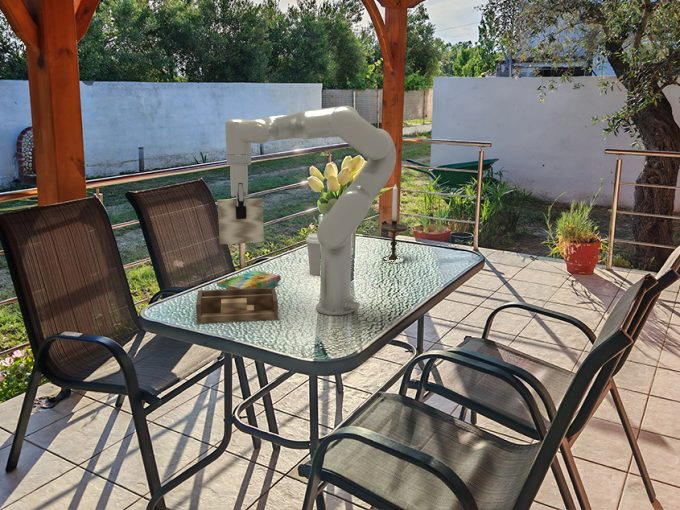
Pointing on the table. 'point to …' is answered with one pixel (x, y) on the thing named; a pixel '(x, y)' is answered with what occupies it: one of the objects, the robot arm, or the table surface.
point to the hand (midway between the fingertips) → (241, 217)
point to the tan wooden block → (236, 306)
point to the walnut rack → (259, 297)
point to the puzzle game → (251, 280)
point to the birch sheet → (240, 222)
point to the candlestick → (393, 225)
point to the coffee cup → (313, 254)
